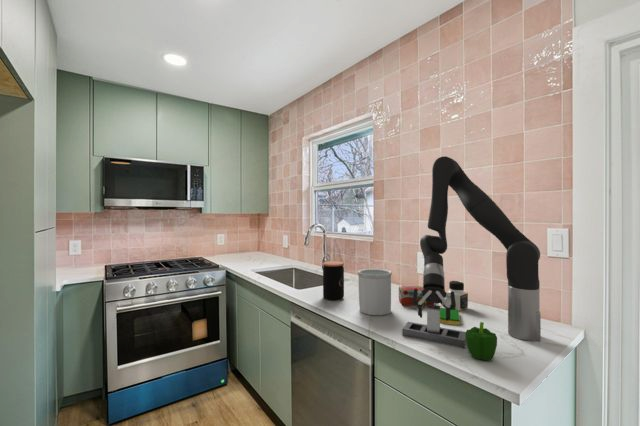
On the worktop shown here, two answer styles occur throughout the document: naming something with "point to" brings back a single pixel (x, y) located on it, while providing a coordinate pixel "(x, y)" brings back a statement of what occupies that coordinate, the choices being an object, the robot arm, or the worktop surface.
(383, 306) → the utensil holder
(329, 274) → the coffee jar
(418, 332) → the peg hole block
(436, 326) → the steel peg
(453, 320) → the dish sponge
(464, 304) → the medicine bottle
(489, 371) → the worktop surface
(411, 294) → the medicine box
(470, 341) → the bell pepper
